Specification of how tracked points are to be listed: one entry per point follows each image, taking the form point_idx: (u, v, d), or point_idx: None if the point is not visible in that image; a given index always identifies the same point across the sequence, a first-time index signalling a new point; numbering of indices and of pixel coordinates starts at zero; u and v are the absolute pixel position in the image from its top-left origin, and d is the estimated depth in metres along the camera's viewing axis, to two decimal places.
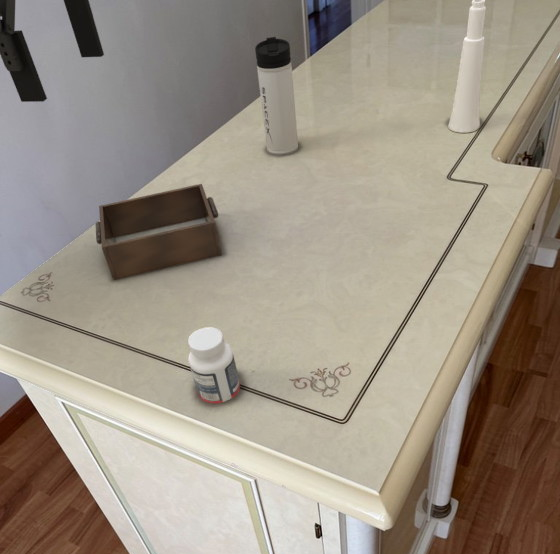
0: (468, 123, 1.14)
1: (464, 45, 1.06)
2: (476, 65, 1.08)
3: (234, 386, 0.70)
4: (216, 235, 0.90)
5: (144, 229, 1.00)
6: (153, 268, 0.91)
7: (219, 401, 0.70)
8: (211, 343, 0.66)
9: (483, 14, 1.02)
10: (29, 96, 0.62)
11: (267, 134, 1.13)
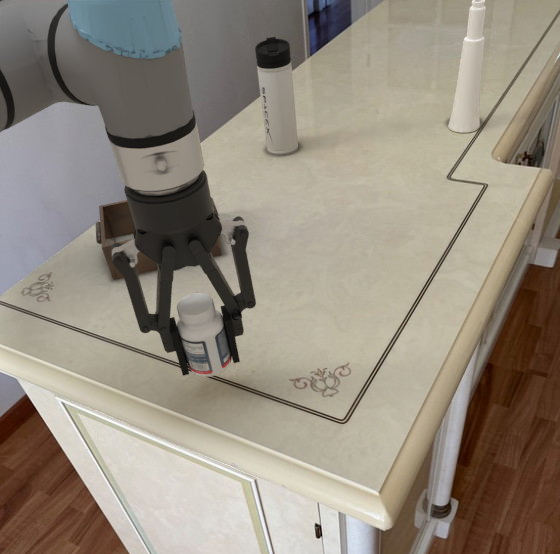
0: (468, 123, 1.14)
1: (464, 45, 1.06)
2: (476, 65, 1.08)
3: (225, 355, 0.67)
4: None
5: None
6: (153, 268, 0.91)
7: (209, 371, 0.67)
8: (201, 308, 0.62)
9: (483, 14, 1.02)
10: None
11: (267, 134, 1.13)
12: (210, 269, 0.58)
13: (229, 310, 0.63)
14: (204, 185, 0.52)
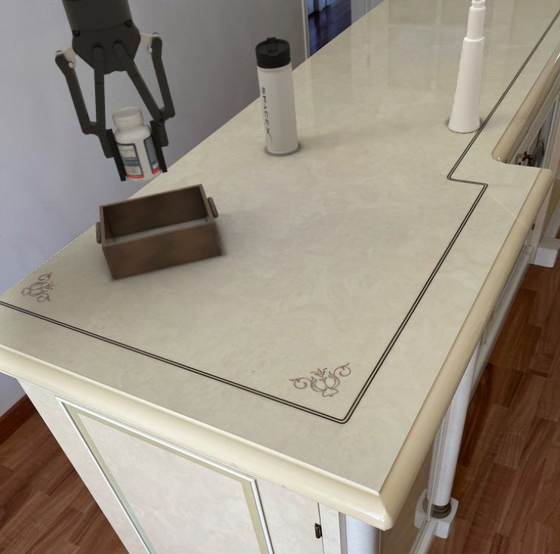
0: (468, 123, 1.14)
1: (464, 45, 1.06)
2: (476, 65, 1.08)
3: (154, 162, 0.83)
4: (216, 235, 0.90)
5: (144, 229, 1.00)
6: (153, 268, 0.91)
7: (141, 175, 0.83)
8: (130, 114, 0.78)
9: (483, 14, 1.02)
10: None
11: (267, 134, 1.13)
12: (133, 73, 0.75)
13: (153, 118, 0.79)
14: None
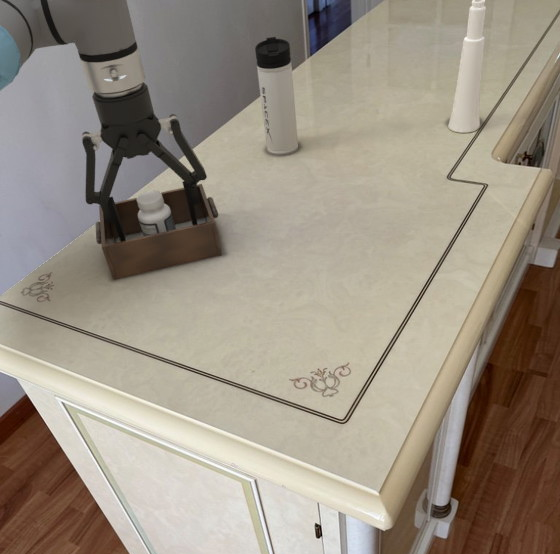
0: (468, 123, 1.14)
1: (464, 45, 1.06)
2: (476, 65, 1.08)
3: None
4: (216, 235, 0.90)
5: None
6: (153, 268, 0.91)
7: None
8: (153, 199, 0.89)
9: (483, 14, 1.02)
10: None
11: (267, 134, 1.13)
12: (160, 153, 0.84)
13: (187, 182, 0.89)
14: (144, 92, 0.78)
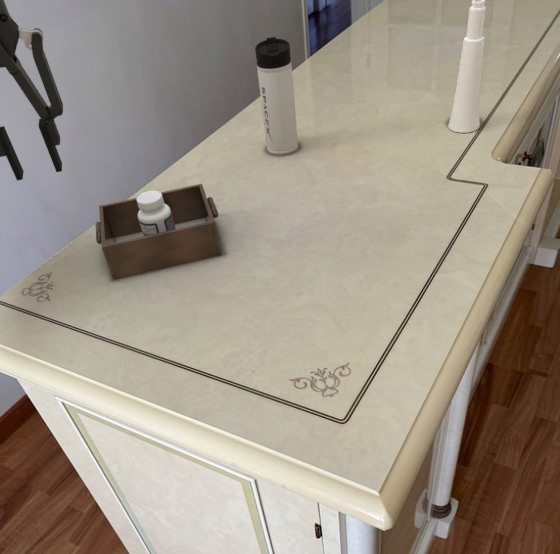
0: (468, 123, 1.14)
1: (464, 45, 1.06)
2: (476, 65, 1.08)
3: None
4: (216, 235, 0.90)
5: None
6: (153, 268, 0.91)
7: None
8: (153, 199, 0.89)
9: (483, 14, 1.02)
10: None
11: (267, 134, 1.13)
12: (13, 70, 0.73)
13: (40, 116, 0.78)
14: None
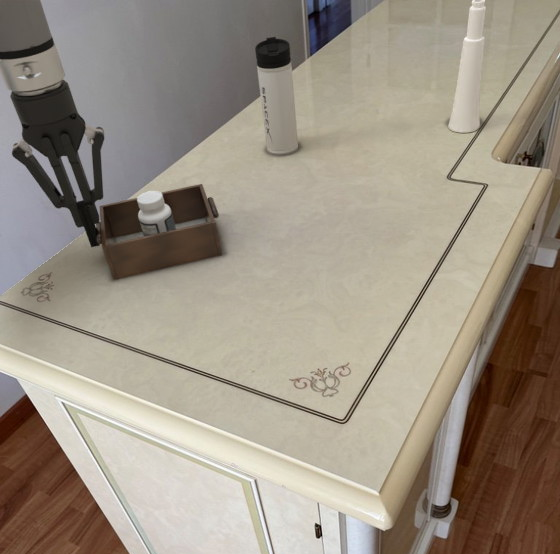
0: (468, 123, 1.14)
1: (464, 45, 1.06)
2: (476, 65, 1.08)
3: None
4: (216, 235, 0.90)
5: None
6: (153, 268, 0.91)
7: None
8: (153, 199, 0.89)
9: (483, 14, 1.02)
10: None
11: (267, 134, 1.13)
12: (73, 160, 0.82)
13: (84, 199, 0.87)
14: (64, 90, 0.76)
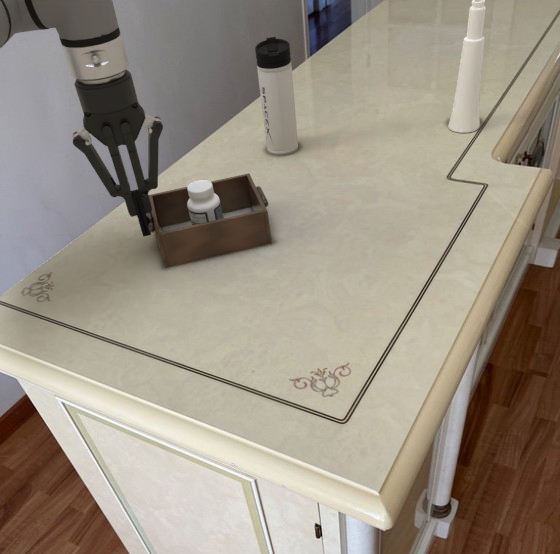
0: (468, 123, 1.14)
1: (464, 45, 1.06)
2: (476, 65, 1.08)
3: None
4: (267, 223, 0.91)
5: None
6: (204, 256, 0.92)
7: None
8: (203, 188, 0.90)
9: (483, 14, 1.02)
10: None
11: (267, 134, 1.13)
12: (132, 149, 0.83)
13: (139, 188, 0.88)
14: (128, 79, 0.77)
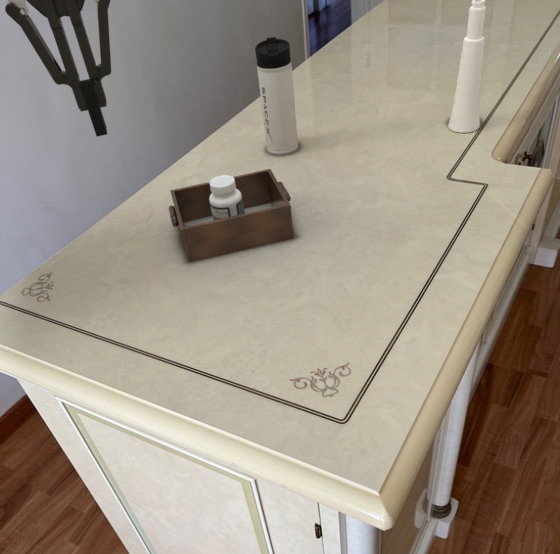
0: (468, 123, 1.14)
1: (464, 45, 1.06)
2: (476, 65, 1.08)
3: None
4: (290, 218, 0.91)
5: None
6: (227, 251, 0.92)
7: None
8: (226, 183, 0.91)
9: (483, 14, 1.02)
10: None
11: (267, 134, 1.13)
12: (77, 21, 0.71)
13: (89, 74, 0.76)
14: None
